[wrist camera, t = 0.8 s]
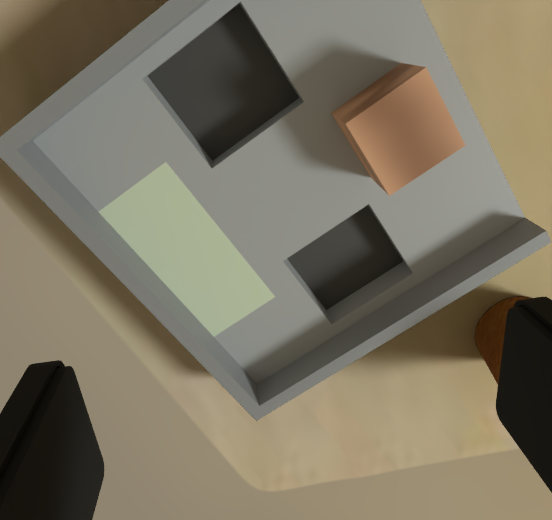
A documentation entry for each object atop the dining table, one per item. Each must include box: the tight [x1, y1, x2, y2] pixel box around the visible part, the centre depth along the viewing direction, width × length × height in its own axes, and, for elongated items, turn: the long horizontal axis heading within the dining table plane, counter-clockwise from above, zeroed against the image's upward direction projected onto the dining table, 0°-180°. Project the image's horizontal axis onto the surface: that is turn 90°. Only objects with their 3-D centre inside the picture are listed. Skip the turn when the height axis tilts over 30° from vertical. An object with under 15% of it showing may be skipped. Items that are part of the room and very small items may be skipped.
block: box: [331, 63, 466, 196], centre depth 29 cm, size 5×5×4 cm
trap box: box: [0, 0, 551, 421], centre depth 32 cm, size 24×25×5 cm
